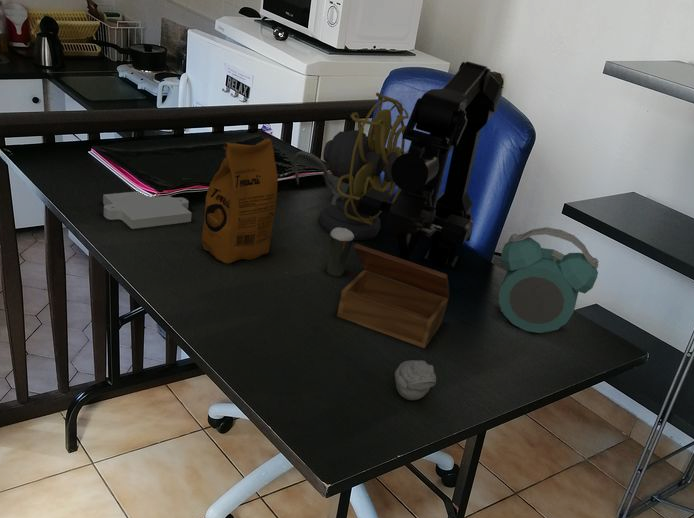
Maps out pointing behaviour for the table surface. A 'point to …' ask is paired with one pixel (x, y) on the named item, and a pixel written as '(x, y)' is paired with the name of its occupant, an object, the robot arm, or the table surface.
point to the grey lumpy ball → (414, 379)
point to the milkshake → (339, 250)
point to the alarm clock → (543, 281)
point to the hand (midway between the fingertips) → (403, 262)
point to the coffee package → (241, 203)
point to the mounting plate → (145, 209)
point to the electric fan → (360, 168)
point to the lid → (403, 271)
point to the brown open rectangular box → (392, 308)
